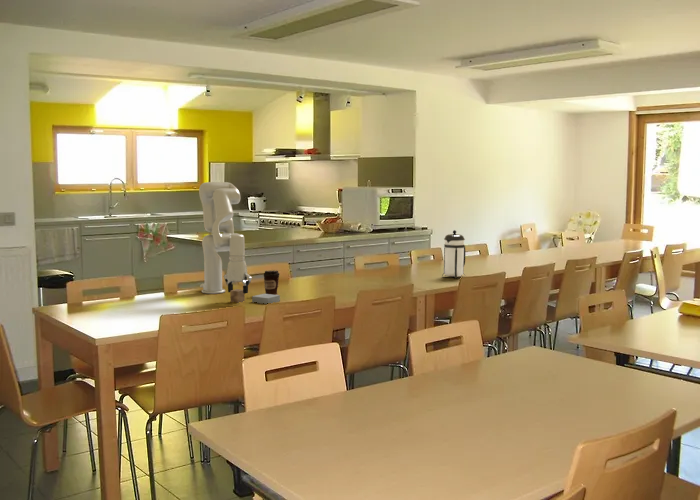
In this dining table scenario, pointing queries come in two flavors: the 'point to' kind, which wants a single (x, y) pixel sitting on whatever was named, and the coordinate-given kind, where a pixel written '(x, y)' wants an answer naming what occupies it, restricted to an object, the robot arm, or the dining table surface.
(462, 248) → the coffee press
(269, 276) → the coffee cup
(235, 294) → the walnut block
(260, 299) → the plinth
